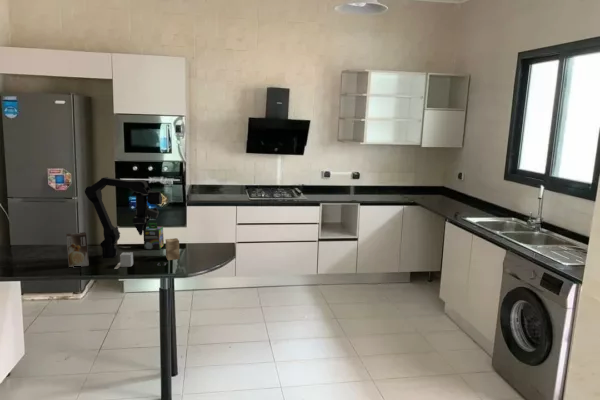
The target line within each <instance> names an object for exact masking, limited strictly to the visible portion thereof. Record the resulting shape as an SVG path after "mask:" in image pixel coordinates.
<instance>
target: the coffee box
mask: <svg viewBox="0 0 600 400" xmlns="http://www.w3.org/2000/svg"><path fill="white" fill-rule="evenodd" d="M65 235H66V247H67V248H66V249H67V261H68V268H69V267H73V268H75V267H74V266H81V267H88V266H89V265H90V263H89V251H88V250H89V249H88V235H87V232H73V233H66V234H65Z"/></svg>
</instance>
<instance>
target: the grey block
mask: <svg viewBox="0 0 600 400" xmlns="http://www.w3.org/2000/svg"><path fill="white" fill-rule="evenodd" d="M119 259H120V261H119V263H120V267H121V268H129V267H132V266H133V265H134V252H131V251H130V252H121V254H120V255H119Z"/></svg>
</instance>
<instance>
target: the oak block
mask: <svg viewBox="0 0 600 400" xmlns="http://www.w3.org/2000/svg"><path fill="white" fill-rule="evenodd" d="M165 258H166V259H167V261H174V260H180V259H181V258H180V239H178V238H166V239H165Z"/></svg>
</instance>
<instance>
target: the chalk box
mask: <svg viewBox="0 0 600 400" xmlns="http://www.w3.org/2000/svg"><path fill="white" fill-rule="evenodd" d="M153 225H154V226H153ZM142 236H143V246H144V247H143V249H144V250H161V249H162V247H164V245H165V242H164V241H165V239H164V226H158V223H157V222H148V226H146V231H143V232H142Z"/></svg>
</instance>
